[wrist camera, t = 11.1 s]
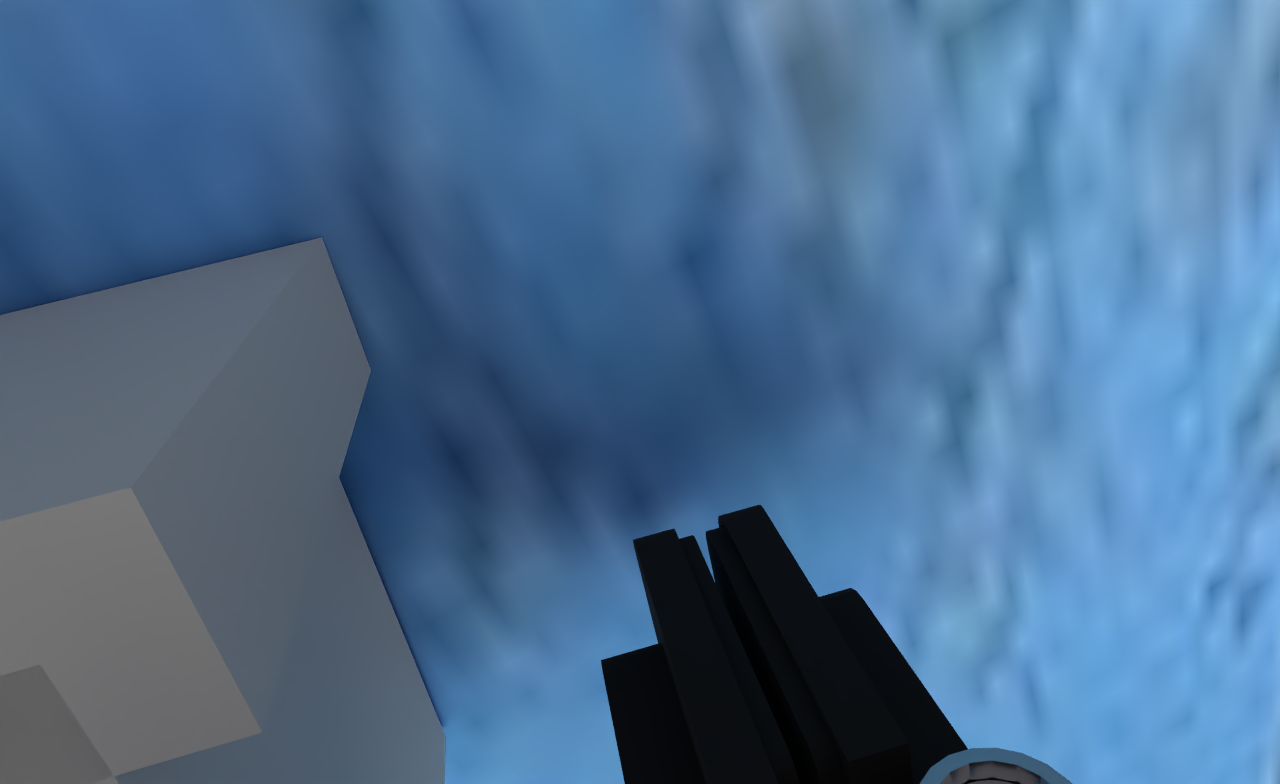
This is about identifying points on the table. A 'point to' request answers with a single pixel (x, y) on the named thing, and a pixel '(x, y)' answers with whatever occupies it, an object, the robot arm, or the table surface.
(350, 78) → the table surface
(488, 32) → the table surface
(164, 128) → the table surface
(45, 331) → the sliding end cap
